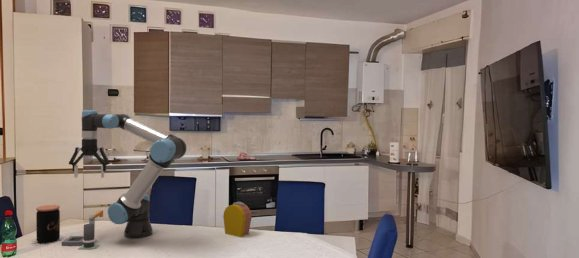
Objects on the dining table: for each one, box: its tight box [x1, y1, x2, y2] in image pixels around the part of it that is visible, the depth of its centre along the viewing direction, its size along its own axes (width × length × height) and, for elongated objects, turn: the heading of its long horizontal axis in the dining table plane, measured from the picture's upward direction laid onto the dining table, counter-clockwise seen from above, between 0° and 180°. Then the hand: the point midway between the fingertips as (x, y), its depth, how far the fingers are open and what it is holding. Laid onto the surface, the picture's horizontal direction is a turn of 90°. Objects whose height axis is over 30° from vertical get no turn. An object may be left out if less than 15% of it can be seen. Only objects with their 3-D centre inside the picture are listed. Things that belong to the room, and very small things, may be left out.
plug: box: [83, 223, 96, 248], centre depth 200 cm, size 6×6×11 cm
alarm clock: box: [222, 201, 253, 238], centre depth 228 cm, size 15×8×18 cm, turn 58°
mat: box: [77, 243, 100, 250], centre depth 201 cm, size 8×6×1 cm
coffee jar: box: [35, 204, 61, 244], centre depth 209 cm, size 11×11×18 cm
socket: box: [61, 220, 99, 247], centre depth 207 cm, size 15×10×12 cm, turn 95°
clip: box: [88, 209, 104, 221], centre depth 213 cm, size 14×3×4 cm, turn 5°
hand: (89, 177), depth 214 cm, fingers open, 13 cm apart
